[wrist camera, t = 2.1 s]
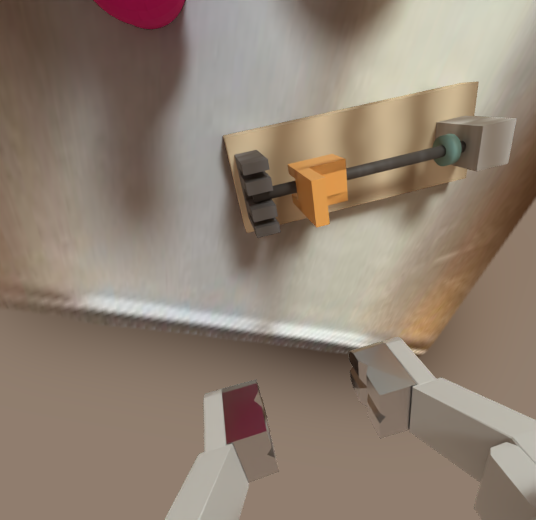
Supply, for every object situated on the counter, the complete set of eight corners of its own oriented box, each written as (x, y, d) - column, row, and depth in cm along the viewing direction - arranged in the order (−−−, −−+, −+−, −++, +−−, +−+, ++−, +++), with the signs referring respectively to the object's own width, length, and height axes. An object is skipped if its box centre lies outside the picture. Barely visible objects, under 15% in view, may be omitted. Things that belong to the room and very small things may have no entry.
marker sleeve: (332, 153, 26) (367, 167, 21) (335, 192, 28) (368, 214, 23) (287, 164, 26) (311, 180, 21) (292, 202, 28) (316, 227, 22)
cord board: (462, 82, 30) (535, 77, 24) (452, 174, 35) (511, 191, 28) (222, 135, 28) (230, 146, 21) (244, 226, 32) (256, 257, 26)
